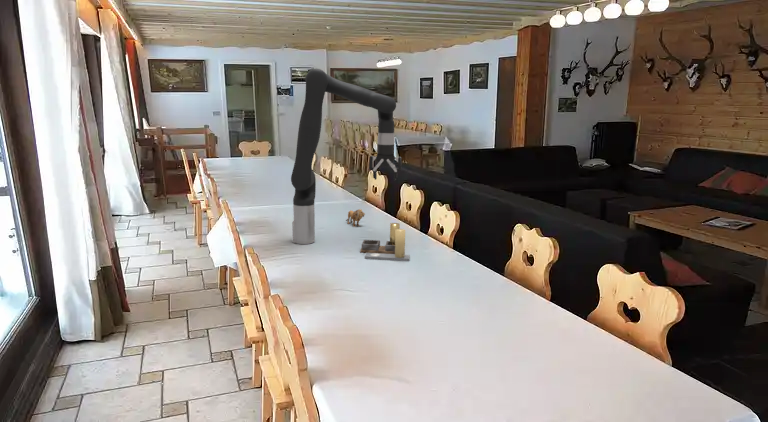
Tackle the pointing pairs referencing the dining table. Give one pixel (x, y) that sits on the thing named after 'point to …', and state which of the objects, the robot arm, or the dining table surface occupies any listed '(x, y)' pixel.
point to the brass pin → (393, 232)
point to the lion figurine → (355, 216)
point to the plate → (387, 257)
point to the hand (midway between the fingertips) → (385, 179)
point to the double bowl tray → (377, 247)
